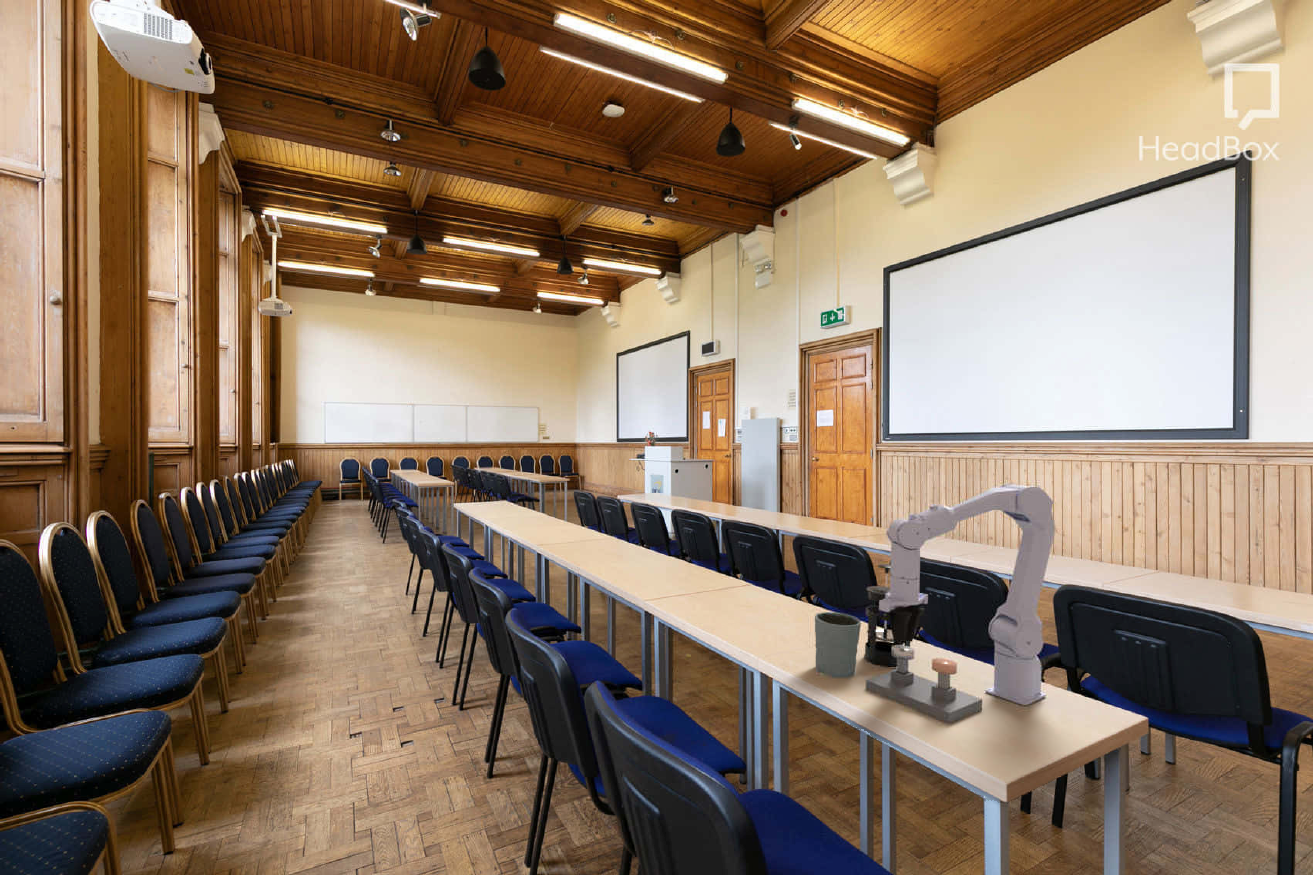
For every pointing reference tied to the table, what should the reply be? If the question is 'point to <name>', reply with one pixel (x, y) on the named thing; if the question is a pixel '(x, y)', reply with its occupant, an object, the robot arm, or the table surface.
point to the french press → (879, 630)
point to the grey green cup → (836, 643)
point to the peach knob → (944, 671)
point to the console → (924, 696)
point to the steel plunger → (902, 657)
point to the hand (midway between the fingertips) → (903, 641)
